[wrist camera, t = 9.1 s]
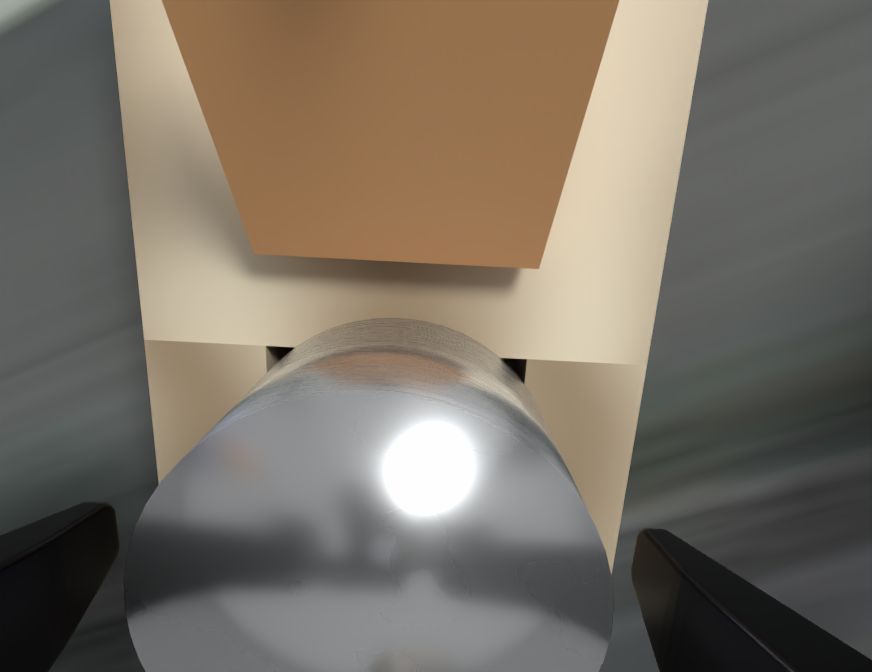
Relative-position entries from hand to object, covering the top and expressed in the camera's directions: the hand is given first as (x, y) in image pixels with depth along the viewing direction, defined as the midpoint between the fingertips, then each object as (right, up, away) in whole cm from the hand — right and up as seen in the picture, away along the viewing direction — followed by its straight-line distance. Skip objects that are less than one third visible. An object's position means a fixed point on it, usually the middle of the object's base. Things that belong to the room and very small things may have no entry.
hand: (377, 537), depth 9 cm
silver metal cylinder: (0, +2, +6) cm, 6 cm away
